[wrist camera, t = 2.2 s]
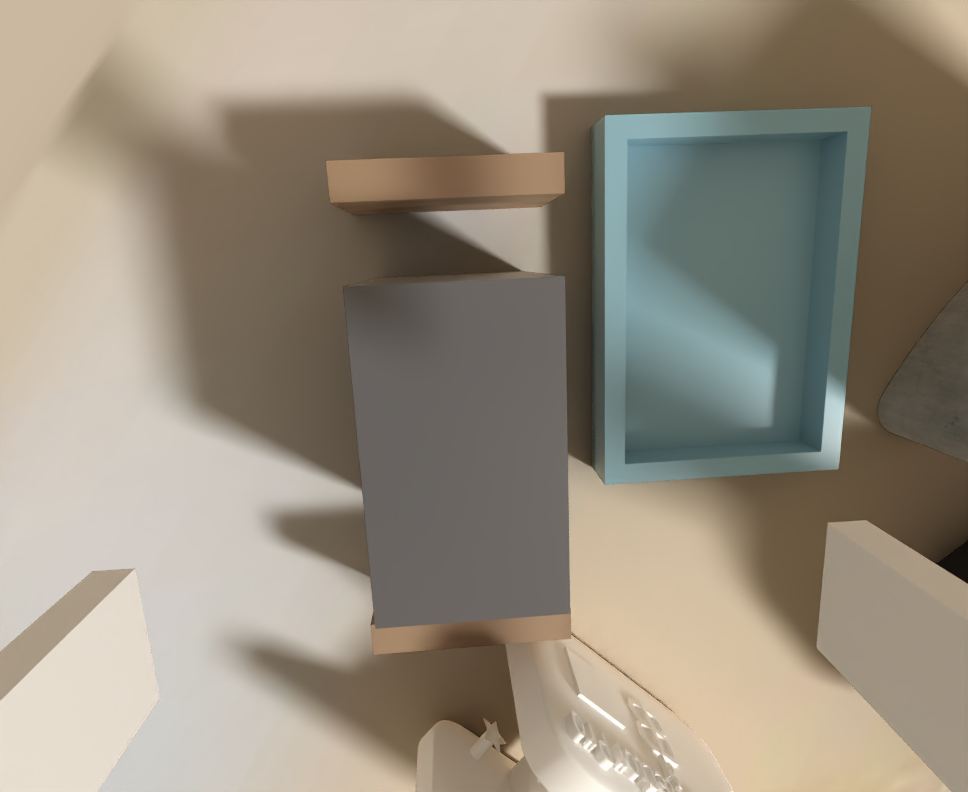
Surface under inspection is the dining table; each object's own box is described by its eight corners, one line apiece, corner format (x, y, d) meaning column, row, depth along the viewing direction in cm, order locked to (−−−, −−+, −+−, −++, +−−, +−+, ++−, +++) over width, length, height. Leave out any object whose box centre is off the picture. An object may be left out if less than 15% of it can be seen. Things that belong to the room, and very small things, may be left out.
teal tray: (592, 467, 32) (605, 484, 30) (591, 127, 28) (604, 115, 26) (809, 453, 33) (838, 469, 30) (835, 119, 29) (871, 106, 27)
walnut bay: (386, 584, 33) (373, 654, 27) (350, 181, 28) (325, 160, 22) (549, 573, 33) (570, 639, 28) (539, 174, 29) (564, 152, 23)
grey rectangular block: (398, 506, 32) (375, 628, 21) (379, 277, 29) (342, 286, 19) (528, 497, 32) (569, 613, 22) (521, 271, 30) (565, 276, 19)
